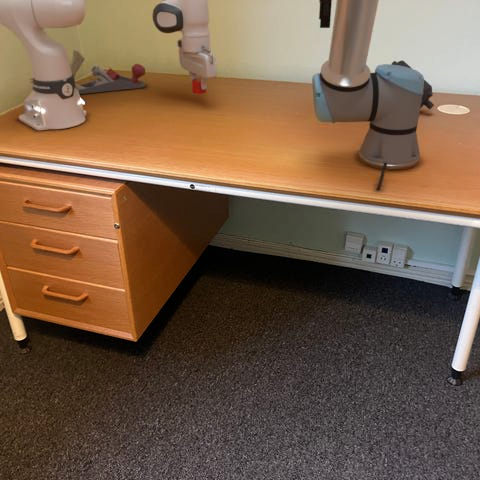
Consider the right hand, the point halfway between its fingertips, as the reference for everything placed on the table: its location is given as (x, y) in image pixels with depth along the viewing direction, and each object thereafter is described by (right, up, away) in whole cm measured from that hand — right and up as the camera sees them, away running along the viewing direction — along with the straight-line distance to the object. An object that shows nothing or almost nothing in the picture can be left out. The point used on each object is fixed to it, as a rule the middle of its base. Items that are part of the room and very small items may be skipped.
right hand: (324, 23), depth 154 cm
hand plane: (-75, -7, +44) cm, 87 cm away
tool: (+28, -20, +19) cm, 39 cm away
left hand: (-38, -11, +26) cm, 48 cm away
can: (-38, -12, +27) cm, 48 cm away
